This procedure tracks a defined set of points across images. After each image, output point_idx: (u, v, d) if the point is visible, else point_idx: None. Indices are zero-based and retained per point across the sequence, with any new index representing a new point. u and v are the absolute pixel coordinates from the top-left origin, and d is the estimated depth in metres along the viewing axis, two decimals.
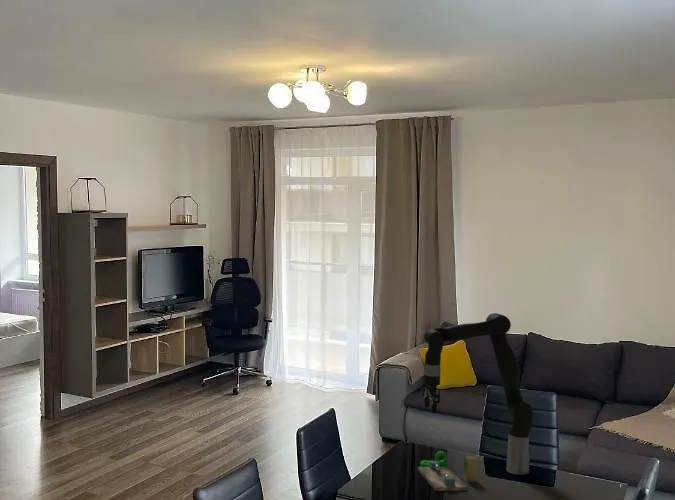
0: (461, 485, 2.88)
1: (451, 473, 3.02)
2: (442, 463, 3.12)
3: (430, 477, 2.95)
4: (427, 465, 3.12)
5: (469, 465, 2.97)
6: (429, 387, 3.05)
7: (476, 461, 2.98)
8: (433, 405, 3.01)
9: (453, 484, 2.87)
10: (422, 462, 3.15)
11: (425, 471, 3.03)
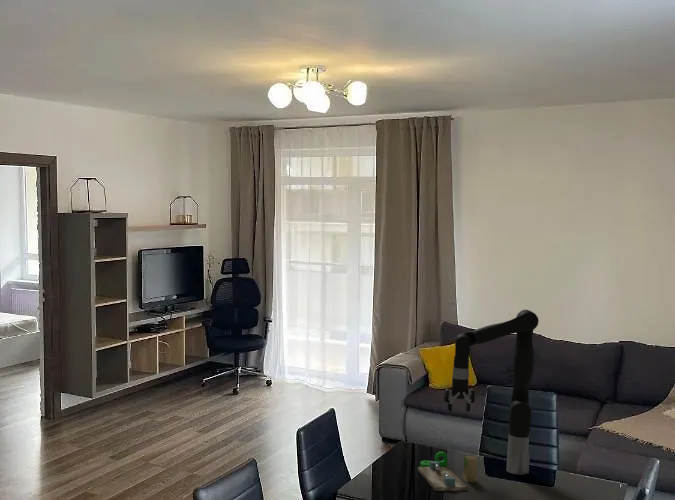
0: (461, 485, 2.88)
1: (451, 473, 3.02)
2: (442, 463, 3.11)
3: (430, 477, 2.95)
4: (427, 465, 3.12)
5: (469, 465, 2.97)
6: (461, 390, 3.16)
7: (476, 461, 2.98)
8: (469, 405, 3.17)
9: (453, 484, 2.87)
10: (422, 462, 3.14)
11: (425, 471, 3.03)
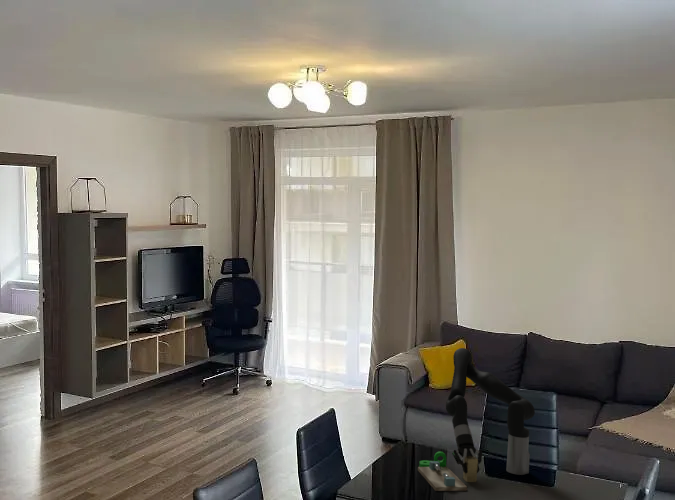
0: (461, 485, 2.88)
1: (451, 473, 3.02)
2: (441, 463, 3.11)
3: (430, 477, 2.95)
4: (426, 465, 3.12)
5: (469, 465, 2.97)
6: (468, 448, 3.05)
7: (476, 461, 2.98)
8: (477, 465, 3.00)
9: (453, 484, 2.87)
10: (421, 462, 3.14)
11: (425, 471, 3.03)
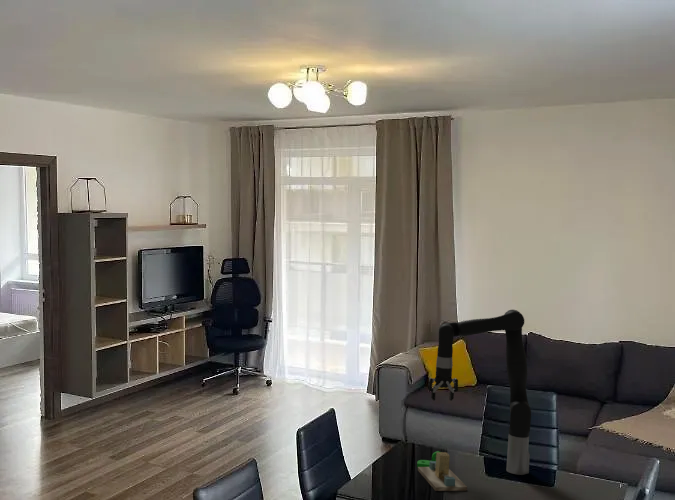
0: (461, 485, 2.88)
1: (451, 473, 3.02)
2: None
3: (430, 477, 2.95)
4: (423, 465, 3.12)
5: (441, 461, 2.95)
6: (445, 379, 3.18)
7: (448, 457, 2.96)
8: (453, 394, 3.20)
9: (453, 484, 2.87)
10: (419, 461, 3.15)
11: (425, 471, 3.03)
